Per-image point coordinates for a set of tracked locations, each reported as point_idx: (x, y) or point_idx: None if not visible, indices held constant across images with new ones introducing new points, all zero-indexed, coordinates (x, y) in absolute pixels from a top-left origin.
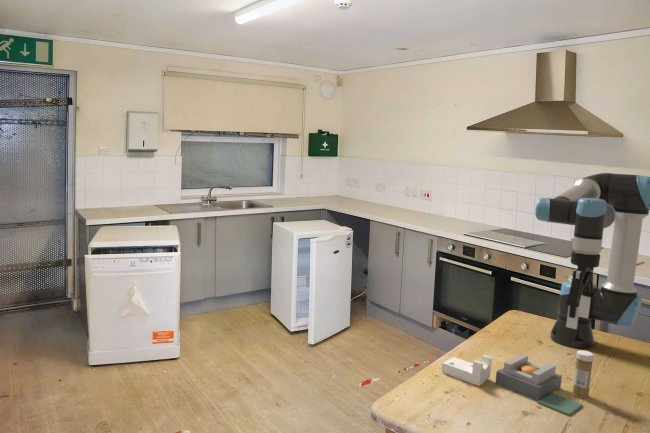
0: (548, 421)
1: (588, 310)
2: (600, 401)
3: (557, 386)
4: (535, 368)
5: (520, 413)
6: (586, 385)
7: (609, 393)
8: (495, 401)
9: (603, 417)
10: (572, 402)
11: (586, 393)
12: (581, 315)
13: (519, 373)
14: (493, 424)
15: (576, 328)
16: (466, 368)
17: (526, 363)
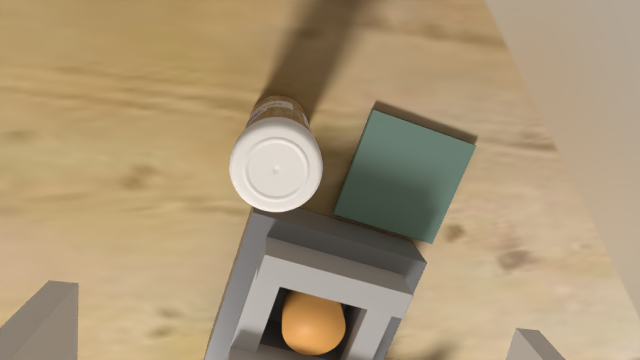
0: (538, 194)
1: (23, 344)
2: (287, 50)
3: None
4: (296, 311)
5: (524, 270)
6: (303, 114)
7: (181, 18)
8: (481, 341)
9: (422, 35)
10: (378, 144)
11: (296, 105)
12: (69, 350)
13: (374, 346)
14: (619, 314)
15: (531, 332)
16: None
17: (254, 346)
